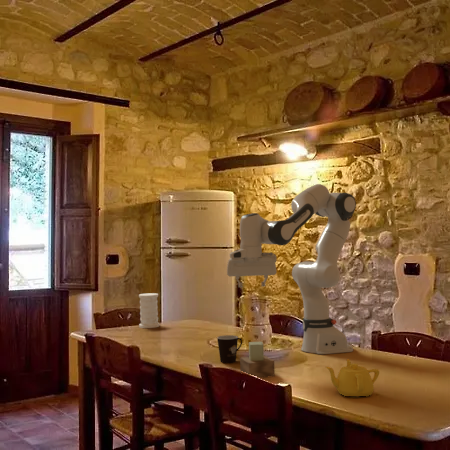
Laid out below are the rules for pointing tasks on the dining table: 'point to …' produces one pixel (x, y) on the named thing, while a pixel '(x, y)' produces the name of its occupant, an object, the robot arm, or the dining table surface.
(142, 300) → the decorative container
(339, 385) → the teapot
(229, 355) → the coffee mug
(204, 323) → the dining table surface
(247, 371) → the walnut box
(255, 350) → the green cube
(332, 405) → the dining table surface
